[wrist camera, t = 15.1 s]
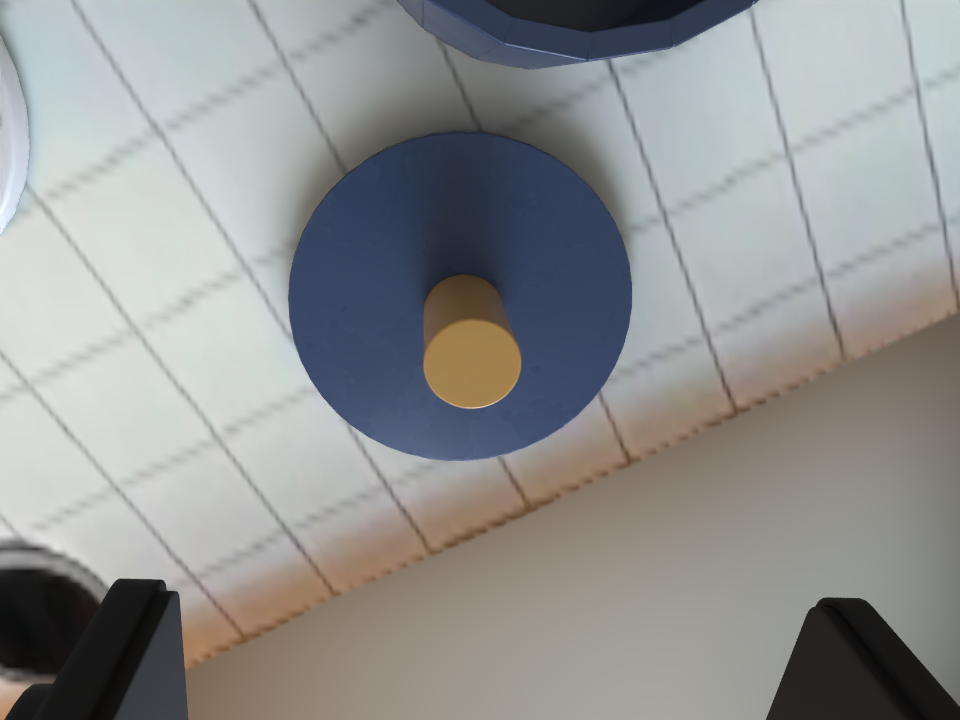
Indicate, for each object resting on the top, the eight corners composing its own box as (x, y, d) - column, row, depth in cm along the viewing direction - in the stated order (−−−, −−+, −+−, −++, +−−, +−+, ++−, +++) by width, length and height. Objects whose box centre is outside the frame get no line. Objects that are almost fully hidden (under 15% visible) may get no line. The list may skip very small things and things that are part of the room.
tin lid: (336, 469, 28) (314, 567, 22) (253, 160, 23) (197, 185, 17) (632, 419, 28) (684, 504, 23) (613, 103, 23) (674, 109, 18)
